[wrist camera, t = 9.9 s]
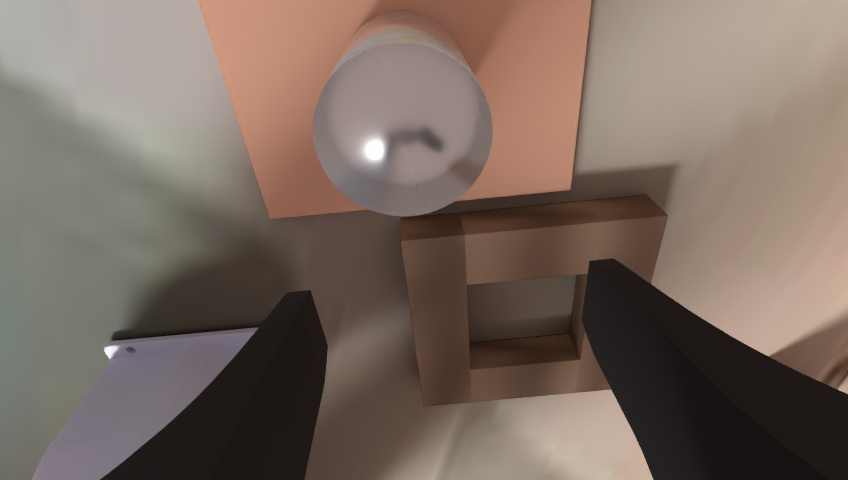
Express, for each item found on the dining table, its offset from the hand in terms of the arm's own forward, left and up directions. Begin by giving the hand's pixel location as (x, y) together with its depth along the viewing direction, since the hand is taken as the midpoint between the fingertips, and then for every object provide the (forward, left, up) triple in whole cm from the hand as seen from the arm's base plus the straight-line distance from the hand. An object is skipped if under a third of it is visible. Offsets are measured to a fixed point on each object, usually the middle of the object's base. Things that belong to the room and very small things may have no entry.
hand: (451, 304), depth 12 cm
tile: (-1, +4, -10) cm, 11 cm away
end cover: (-1, +4, -9) cm, 10 cm away
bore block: (+4, -9, -10) cm, 14 cm away
